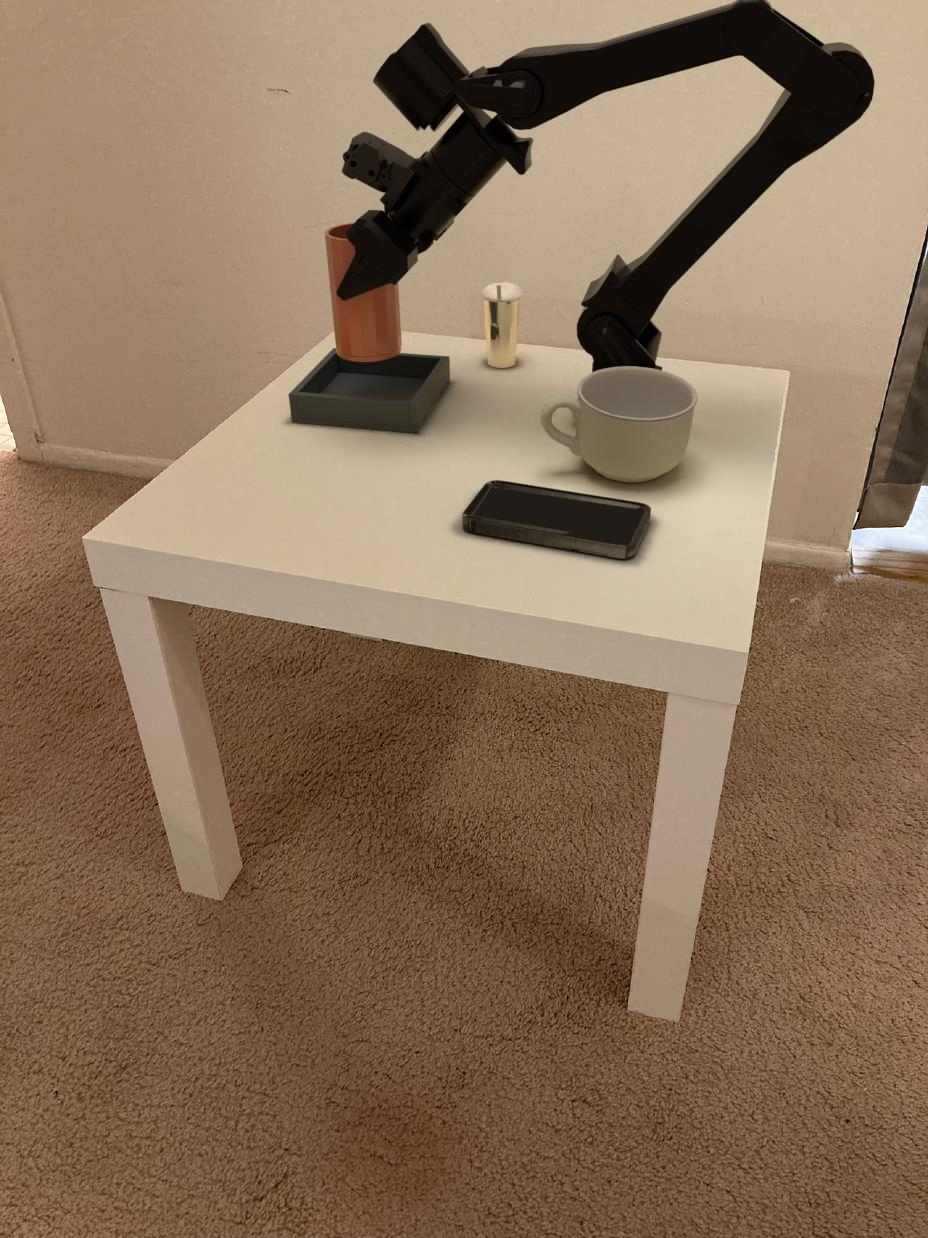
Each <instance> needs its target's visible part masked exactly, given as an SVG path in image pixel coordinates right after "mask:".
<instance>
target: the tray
mask: <svg viewBox="0 0 928 1238" xmlns="http://www.w3.org/2000/svg"><path fill="white" fill-rule="evenodd" d="M450 364H451V363H450V356H449V355H437V354H436V355H435V354H420V353H409V352H400V353H399V354H398V355H396V356H394V357H392V358H389V359H386V360H382V361H376V362H354V361H349V360H345V359H343V358H341V357H339V356H338V355H337V352H336V347H333V348H332V349H331V350H330V351H329V352H328V353H327V354H326V355H325V356H324V357H323V358H322V359H321V360H320V361H319V362H318V363H317V364H316V365H315V367H314V368H312V369H311V370H310V372H308V373H307V375H305V376H304V378H303V379H302V380H301V381H300V382H299V383H298V384H296V386H295V387H294V388H293V389H292V390H291V391H290V392H289V393H288V403H289V409H290V418H291V423H298V424H307V425H318V426H319V425H320V426H330V427H331V426H332V427H340V428H341V427H342V428H354V429H363V430H364V429H365V430H376V431H377V430H378V431H388V432H398V433H410V434H418V433H419V432H420V430H421V428H422V427H423V425H424V424H425V422H426V421H427V420H428V418H429V416H430V415H431V413H432V412H433V410H434V408H435V407H436V405H437V404H438V402H439V400H441V398H442V396H443V395H444V393H445V392H446V390H447V389H448V387H449V386H450V384H451V365H450Z"/></svg>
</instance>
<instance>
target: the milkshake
mask: <svg viewBox="0 0 928 1238" xmlns="http://www.w3.org/2000/svg"><path fill="white" fill-rule="evenodd" d="M481 299H482V301H481V302H482V308H483V309H482V310H483V316H484V317H483V319H484V330H485V343H486V344H485V345H486V359H487V364H488V365H489V366H490V367H492V368H497V369H507V368H508V369H509V368H511V367H514V366H515V364H516V362H517V351H518V350H517V349H518V340H519V339H518V338H519V327H520V320H521V319H520V318H521V310H522V303H523V291H522V289H521V288H520V287H519V286H518V285H517V284H515V283H513V282H510V281H504V282H492V283H490V284H488V285H486V286H485V287H484V289H483V290H482V291H481Z"/></svg>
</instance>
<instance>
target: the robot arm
mask: <svg viewBox="0 0 928 1238" xmlns="http://www.w3.org/2000/svg"><path fill="white" fill-rule="evenodd" d="M733 57H734V58H735V57H743V58H744V59H746V60H748V61H749V62H750V63H752V64H753V65H754V66H755V67H757V68H758V69H759V70H761V71H762V72H763V73H764V74H765V75H766V76H768V77H769V78H770V79H772V80H773V81H774V82H775V83H777V84H778V85H779V86H781V87H782V88H783V89H784V90H783V91H782V92H781V94H780V96H779V97H778V98H777V100H776V102H775V103H774V106H773V107H772V109H771V110H770V112H769V113H768V115H767V117H766V119H765V120H764V121H763V123H762V125H761V126H760V128H759V130H758V131H757V132H756V133H755V134H754V135H753V136H752V137H751V139H750V140H749V141H748V142H747V143H746V144H745V145H744V146H743V147H742V149H741V150H739V152H737V154H736V155H735V156H734V157H733V158H732V159H731V160H730V161H729V162H728V164H727V165H726V166H725V167H723V169H721V171H720V172H719V173H718V174H717V175H716V176H715V177H714V179H712V181H711V182H709V184H708V185H707V186H706V187H705V188H704V189H703V190H702V191H701V192H700V193H699V195H698V196H697V197H696V198H695V199H694V200H693V201H692V202H691V203H690V204H689V205H688V207H687V208H686V209H685V210H684V211H683V212H682V213H680V215H679V216H678V217H677V218H676V220H674V221H673V223H671V224H670V226H669V227H668V228H667V229H666V230H665V231H664V233H662V234H661V235H660V236H659V237H658V238H657V240H656V241H655V242H654V243H653V244H652V245H651V246H650V247H649V248H648V249H647V250H646V252H644V253H643V254H642V255H640V256H639V257H637V258H635V259H634V260H632V261H631V262H629V263H626V262H625V260H624V259H623V257H621V254H616V255H615V257H614V259H613V260H612V261H611V263H610V264H609V266H608V267H607V269H606V270H605V271H604V273H603V274H602V275H601V276H599V277H598V278H596V279H595V280H592V281H590V283H589V285H588V286H587V289H586V292H585V294H584V296H583V299H582V301H581V303H580V306H581V307H583V308H582V311H581V313H580V315H579V317H578V319H577V323H576V336H577V340H578V342H579V345H580V347H581V348H582V349H583V351H584V352H585V353H587V354H588V355H590V356H591V357H592V363H591V364H592V366H591V373H592V372H594V371H597V370H601V369H605V368H612V367H620V366H636V367H647V368H653V369H657V370H661V371H663V366H660V365H657V363H656V362H657V358H658V354H659V349H660V346H661V341H662V337H663V333H662V331H661V330H660V329H659V328H658V327H657V325H656V324H655V323H654V322H653V321H652V318H653V317H654V315H655V314H656V312H657V310H658V309H659V308H660V306H661V304H662V302H663V300H664V299H665V297H666V296H667V294H668V293H669V291H670V290H671V289H672V288H673V286H675V285H676V283H678V281H680V280H681V278H682V277H683V276H685V274H686V273H687V272H688V271H689V270H690V269H691V268H692V267H693V266H694V265H695V264H696V263H697V262H698V261H699V260H701V258H702V257H703V256H704V255H705V254H706V253H707V252H708V251H709V250H710V249H711V248H712V247H713V246H714V245H715V244H716V243H717V241H718V240H720V238H721V237H722V236H723V235H724V234H726V232H727V231H728V230H729V229H730V228H731V227H732V226H733V225H734V224H735V223H736V222H737V221H738V220H739V219H740V218H741V217H742V216H743V215H744V214H745V213H746V212H747V211H748V210H749V209H750V208H751V207H752V206H753V205H754V204H755V202H756V201H758V200H759V198H760V197H761V196H763V194H764V193H766V191H767V190H769V189H770V187H771V186H772V185H773V184H774V183H775V182H776V181H777V180H778V179H779V178H780V177H781V176H782V175H783V174H784V173H785V172H786V171H787V170H788V169H790V168H791V167H792V166H794V165H795V164H797V163H799V162H800V161H802V160H804V159H805V158H807V157H808V156H811V155H812V154H814V153H815V152H816V151H817V152H818V150H820V149H822V148H823V147H824V146H827V144H828V143H830V142H831V141H833V140H834V139H835V138H837V137H838V136H839V135H841V134H842V133H843V132H845V131H846V130H847V129H849V128H850V127H852V126H853V125H854V124H855V123H856V122H858V121H859V120H860V119H861V118H862V117H863V115H864V114H865V113H866V111H867V110H868V109H869V107H870V106H871V103H872V101H873V97H874V92H875V83H876V81H875V76H874V72H873V68H872V67H871V65H870V64H869V61H868V60H867V59H866V57H865V56H864V55H863V53H862V52H861V51H860V50H859V49H857V48H856V47H855V46H854V45H852V44H850V43H846V42H843V41H837V42H836V41H835V42H829V43H824V42H823V41H821V40H820V39H819V38H817V37H816V36H814V35H813V34H811V32H808V31H807V30H806V29H805V28H803V27H801V26H800V25H799V24H797V23H795V22H794V21H792V20H791V19H789V18H788V17H787V16H785V15H784V14H782V13H781V12H779V11H777V9H775V8H774V7H772V5H771V3H770V2H769V1H768V0H735V1H733V2H731V3H727V4H725V5H721V6H719V7H714V8H711V9H708V10H704V11H701V12H697V13H694V14H691V15H688V16H684V17H681V18H680V17H679V18H677V19H674V20H670V21H667V22H664V23H661V24H656V25H654V26H650V27H647V28H644V29H640V30H637V31H633V32H629V33H627V34H624V35H623V34H622V35H620V36H616V37H613V38H610V39H606V40H602V41H599V42H586V43H564V44H563V43H562V44H552V45H541V46H532V47H527V48H525V49H523V50H521V51H519V52H517V53H515V54H513V55H512V56H510V57H509V58H507V59H505V60H504V61H503V62H501V64H500V65H496V66H491V67H485V65H482V66H481V67H478V68H476V69H475V70H473V71H471V72H470V71H469V69H468V68H467V67H466V66H465V65H464V64H463V62H462V61H461V60H460V59H459V58H458V56H456V54H455V53H454V52H453V51H452V49H450V48H449V46H448V45H447V44H446V42H445V41H444V40H443V37H442V35H441V33H439V31H438V30H437V29H436V28H435V27H434V25H433V24H432V22H425V23H422V24H420V26H419V27H418V28H417V29H416V31H415V32H414V33H413V34H412V35H411V36H410V37H409V38H407V40H405V41H404V43H402V45H401V46H400V47H399V48H398V49H396V51H395V52H391V54H389V56H388V57H387V58H386V59H385V60H384V61H383V63H382V64H381V66H380V67H379V69H378V70H377V72H376V73H375V75H374V77H373V80H372V83H373V84H374V85H375V86H376V87H377V89H379V90H380V92H381V93H382V94H383V95H384V96H385V97H386V98H387V100H388V101H389V102H390V103H391V104H392V105H393V106H394V107H395V108H396V109H397V110H398V112H399V113H400V114H401V115H402V116H403V117H404V118H405V119H406V120H407V122H409V124H410V126H412V127H413V129H415V131H417V132H420V131H422V130H423V131H426V130H427V129H428V128H429V129H430V130H431V131H432V132H433V133H435V132H437V130H439V129H440V128H441V127H442V126H443V125H444V124H445V123H446V122H447V120H449V118H450V117H451V116H453V114H454V113H455V112H456V110H457V109H458V108H460V109H461V110H462V112H461V113H460V114H459V116H458V117H457V118H456V119H455V120H454V121H453V123H452V124H451V125H450V126H449V127H448V128H447V129H446V131H445V132H444V133H443V134H442V135H441V137H440V138H439V139H438V140H437V141H436V142H435V143H434V144H433V146H431V148H430V149H429V150H425V152H423V153H422V155H420V157H416V158H415V157H414V156H413V155H410V154H409V153H407V152H406V151H405V150H403V149H401V148H399V147H398V146H396V145H394V144H392V143H390V142H388V141H386V140H384V139H383V138H381V137H379V136H377V135H375V134H373V133H371V132H369V131H362V132H360V133H359V134H356V135H355V136H353V137H352V138H351V141H350V144H349V147H348V149H347V150H346V151H344V152H343V154H342V160H343V165H342V168H341V173H342V174H343V175H344V176H345V177H347V178H348V179H350V180H357V181H359V182H360V183H362V184H365V185H366V186H368V187H370V188H372V189H374V190H376V191H377V192H380V193H383V195H382V196H381V197H380V198H379V201H380V202H381V204H382V205H383V210H382V209H367V211H366V212H364V213H363V214H362V215H361V216H359V217H358V218H357V219H356V220H355V221H354V222H353V223H354V224H353V225H352V226H351V227H350V229H349V230H348V231H347V232H346V233H345V234H346V237H347V239H348V241H349V242H350V243H351V244H352V245H353V246H354V247H355V255H354V257H353V260H352V262H351V264H350V266H349V268H348V270H347V272H346V274H345V276H344V277H343V279H342V281H341V283H340V285H339V287H338V289H337V291H336V294H337V296H338V297H339V298H340V299H341V300H343V301H345V300H348V299H350V298H353V297H355V296H358V295H360V294H363V293H365V292H368V291H371V290H373V289H376V288H379V287H381V286H384V285H387V284H390V283H391V284H393V285H396V284H397V283H398V284H399V282H400V281H401V280H402V279H403V278H404V277H405V276H406V274H408V272H409V271H410V270H411V269H412V268H413V267H414V266H415V265H416V264H417V263H418V261H419V257H418V255H420V254H422V253H424V252H427V251H428V250H429V249H430V248H431V247H432V246H433V245H434V241H435V242H437V241H438V240H439V239H440V238H441V237H443V235H444V234H446V232H447V231H448V230H449V229H450V228H451V227H452V226H453V224H454V223H455V218H456V217H457V216H458V215H459V214H460V213H461V212H462V211H463V210H464V209H465V208H466V207H467V206H468V204H469V203H471V202H472V200H473V199H475V197H476V196H477V195H478V194H479V193H480V192H481V191H482V190H483V189H484V187H485V186H486V185H487V184H488V183H489V182H490V181H491V180H492V179H493V178H494V176H496V174H497V173H499V171H500V170H501V169H502V168H503V167H504V166H505V165H506V164H507V163H508V164H509V165H510V166H511V167H512V169H514V171H515V172H516V173H517V174H518V175H519V176H524V175H526V173H527V171H529V170H530V169H531V167H532V166H533V161H532V147H533V143H534V138H532V137H531V136H530V137H521V136H518V135H517V134H516V133H515V131H514V130H516V131H517V130H518V131H528V130H533V129H535V128H537V127H539V126H542V125H543V124H545V123H548V122H549V121H551V120H554V119H556V118H558V117H560V116H562V115H564V114H565V113H568V112H569V111H571V110H573V109H576V108H577V107H579V106H581V105H582V104H584V103H587V102H588V101H590V100H592V99H595V98H596V97H598V96H601V95H602V94H605V93H608V92H612V91H616V90H619V89H623V88H627V87H629V86H633V85H637V84H641V83H644V82H648V81H652V80H655V79H658V78H663V77H666V76H669V75H673V74H677V73H680V72H684V71H687V70H691V69H694V68H697V67H701V66H705V65H709V64H713V63H715V62H716V63H717V62H720V61H723V60H727V59H730V58H733ZM486 111H487V112H493V113H495V115H494V116H493V117H492V116H490V115H489V114H488V113H487V112H486Z"/></svg>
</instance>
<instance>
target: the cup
mask: <svg viewBox="0 0 928 1238" xmlns="http://www.w3.org/2000/svg"><path fill="white" fill-rule="evenodd" d="M354 223H355V222H348V223H341V224H337V225H334V226H331V227H328V228H327V229H326V230H324V241H325V250H326V261H327V270H328V282H329V292H330V302H331V311H332V323H333V331H334V342H335V348H336V352H337V355H338V356H339V357H341V358H343V359H345V360H349V361H354V362H376V361H382V360H386V359H389V358H392V357H394V356H396V355H398V354H399V353H402V349H403V348H402V345H403V341H402V325H401V324H402V323H401V309H400V293H399V292H400V291H399V290H400V289H399V282H398V283H397V284H396V285H393V284H391V283H390V284H387V285H384V286H381V287H379V288H376V289H373V290H371V291H368V292H365V293H363V294H360V295H358V296H355V297H353V298H350V299H348V300H345V301H343V300H341V299H340V298H339V297H338V296H337V294H336V291H337V289H338V287H339V285H340V283H341V281H342V279H343V277H344V276H345V274H346V272H347V270H348V268H349V266H350V264H351V262H352V260H353V257H354V255H355V247H354V246H353V245H352V244H351V243H350V242H349V241H348V239H347V237H346V234H345V233H346V232H347V231H348V230H349V229H350V227H351V226H352V225H353V224H354Z"/></svg>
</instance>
